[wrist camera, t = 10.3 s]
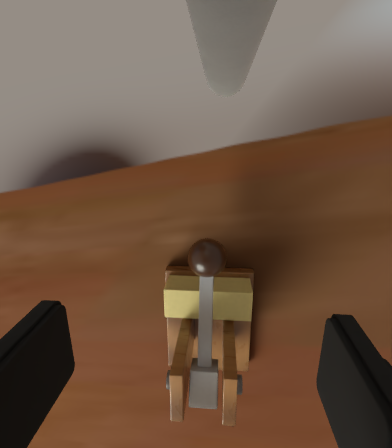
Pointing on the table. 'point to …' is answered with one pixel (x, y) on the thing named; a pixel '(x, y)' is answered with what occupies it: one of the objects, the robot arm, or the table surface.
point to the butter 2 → (232, 299)
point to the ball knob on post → (205, 323)
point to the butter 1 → (182, 297)
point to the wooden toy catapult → (221, 349)
